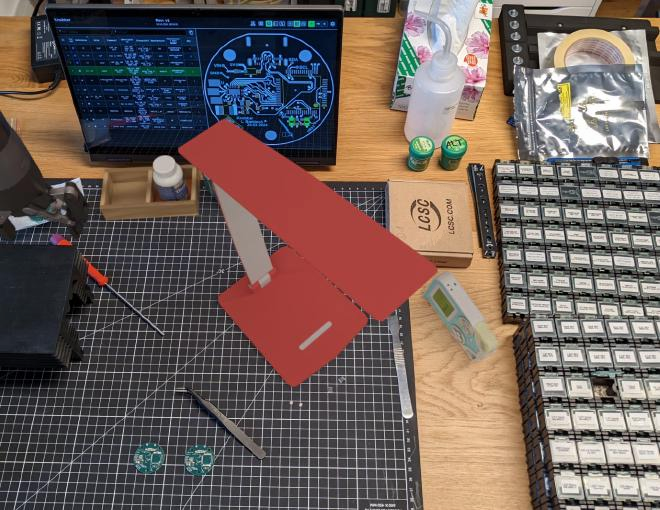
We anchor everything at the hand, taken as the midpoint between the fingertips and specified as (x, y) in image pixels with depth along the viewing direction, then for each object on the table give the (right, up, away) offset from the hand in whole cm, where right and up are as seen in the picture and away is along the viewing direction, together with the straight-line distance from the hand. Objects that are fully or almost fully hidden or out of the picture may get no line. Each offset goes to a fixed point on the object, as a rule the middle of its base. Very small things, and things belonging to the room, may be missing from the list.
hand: (44, 234), depth 84 cm
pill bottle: (+9, +8, +35) cm, 37 cm away
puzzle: (+19, +10, +37) cm, 42 cm away
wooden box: (+5, +8, +36) cm, 37 cm away
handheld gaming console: (+60, -16, +23) cm, 66 cm away
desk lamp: (+34, -15, +23) cm, 43 cm away
